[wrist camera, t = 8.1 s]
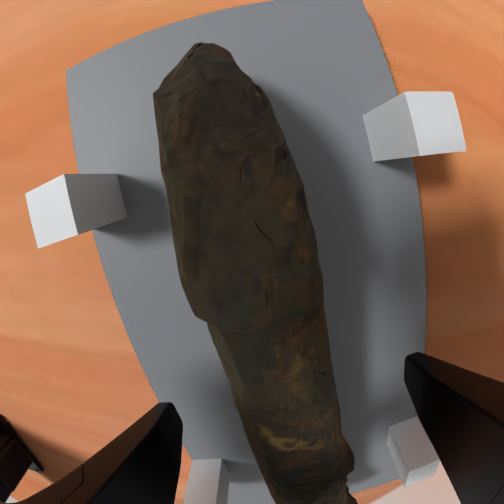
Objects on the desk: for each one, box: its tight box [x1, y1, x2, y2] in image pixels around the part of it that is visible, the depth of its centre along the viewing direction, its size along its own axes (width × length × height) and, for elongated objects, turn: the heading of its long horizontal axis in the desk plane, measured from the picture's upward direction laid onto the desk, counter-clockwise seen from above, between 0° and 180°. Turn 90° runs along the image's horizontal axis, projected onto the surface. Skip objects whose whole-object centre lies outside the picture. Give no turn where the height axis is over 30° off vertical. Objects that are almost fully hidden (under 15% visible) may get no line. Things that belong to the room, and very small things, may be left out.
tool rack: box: [25, 0, 466, 504], centre depth 9 cm, size 11×24×4 cm, turn 13°
